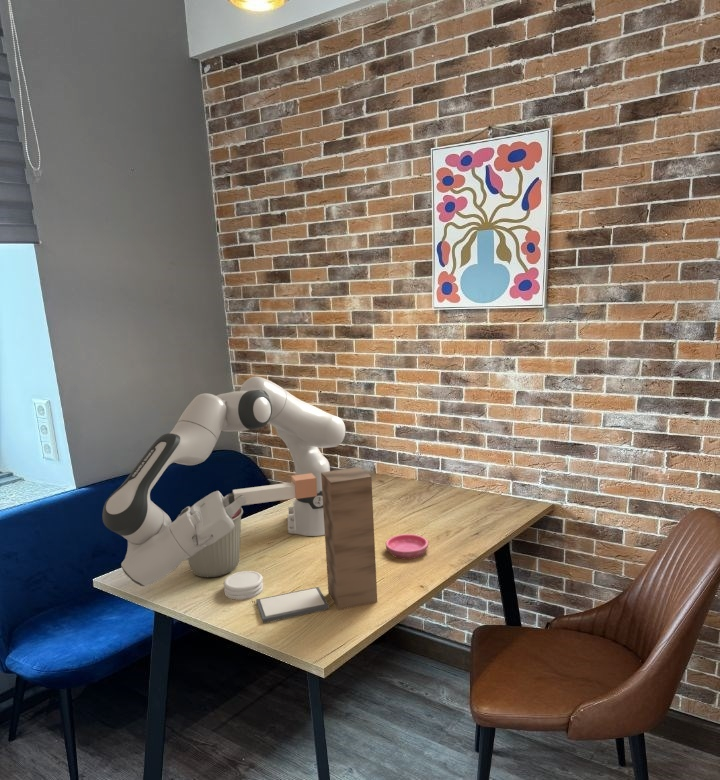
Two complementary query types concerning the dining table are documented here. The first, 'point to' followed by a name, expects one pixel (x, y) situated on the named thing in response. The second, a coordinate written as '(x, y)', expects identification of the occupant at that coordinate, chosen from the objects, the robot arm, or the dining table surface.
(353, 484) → the walnut stand
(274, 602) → the writing board
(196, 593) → the dining table surface
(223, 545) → the canister
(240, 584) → the coaster
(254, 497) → the marker
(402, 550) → the saucer
